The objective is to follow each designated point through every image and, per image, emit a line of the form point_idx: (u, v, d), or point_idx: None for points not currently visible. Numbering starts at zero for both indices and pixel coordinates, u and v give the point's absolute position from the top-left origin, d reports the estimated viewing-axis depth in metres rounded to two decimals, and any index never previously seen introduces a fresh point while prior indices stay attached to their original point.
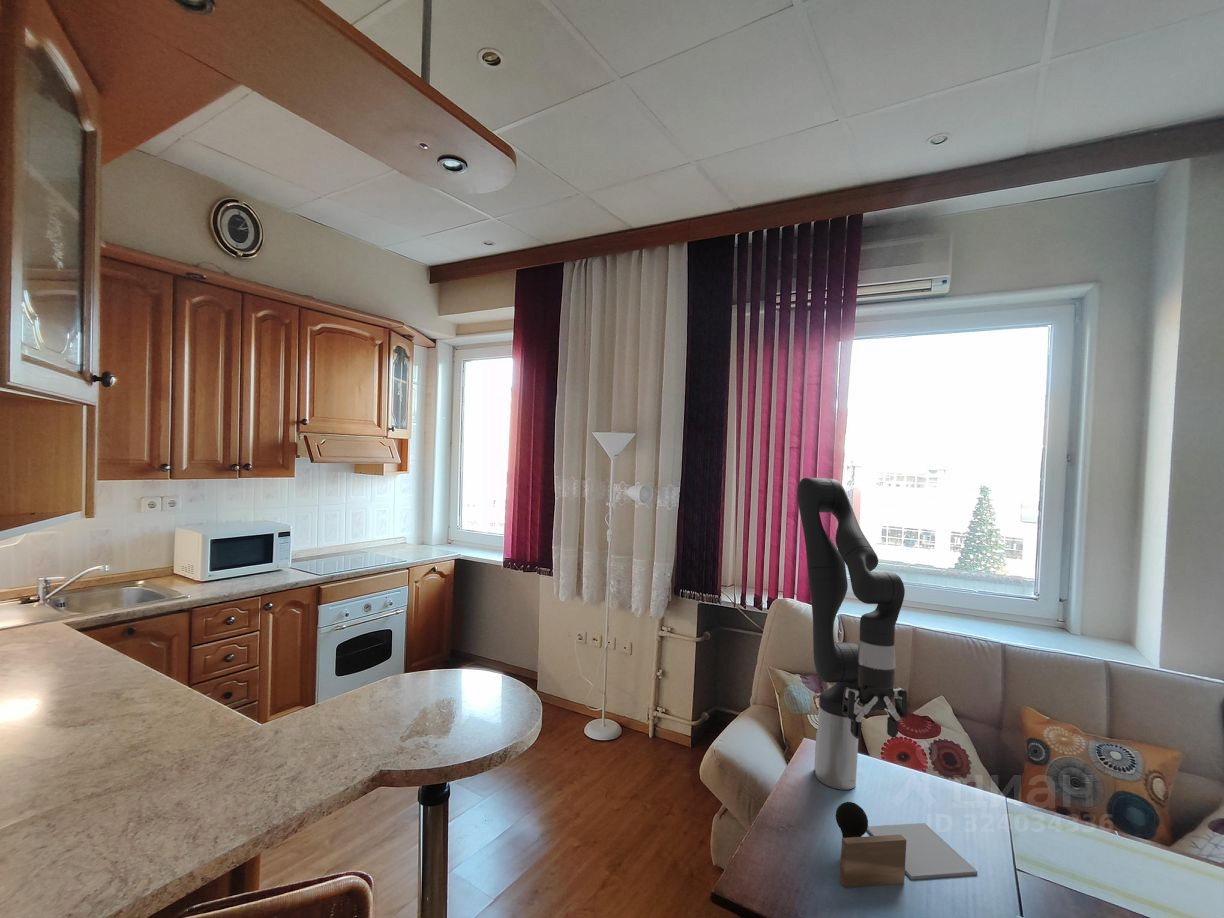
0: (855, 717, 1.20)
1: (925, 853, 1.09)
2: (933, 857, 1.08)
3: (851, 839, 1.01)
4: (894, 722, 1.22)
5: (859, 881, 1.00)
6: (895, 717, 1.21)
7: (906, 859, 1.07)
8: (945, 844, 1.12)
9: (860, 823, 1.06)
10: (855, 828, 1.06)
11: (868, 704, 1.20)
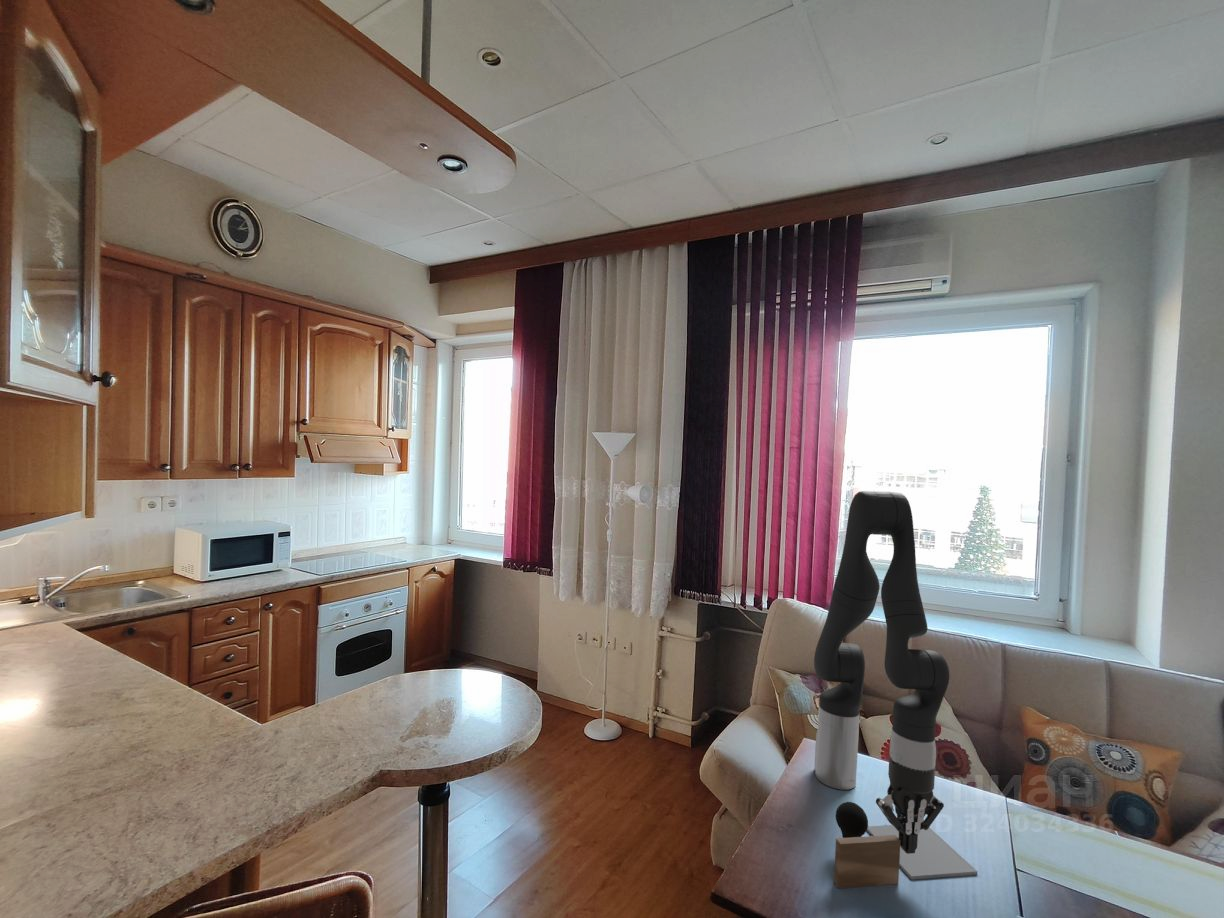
0: (905, 829, 1.02)
1: (925, 853, 1.09)
2: (933, 857, 1.08)
3: (845, 839, 1.01)
4: (913, 835, 1.02)
5: (853, 881, 1.00)
6: (914, 830, 1.02)
7: (906, 859, 1.07)
8: (945, 844, 1.12)
9: (860, 823, 1.06)
10: (855, 828, 1.06)
11: (908, 812, 1.01)
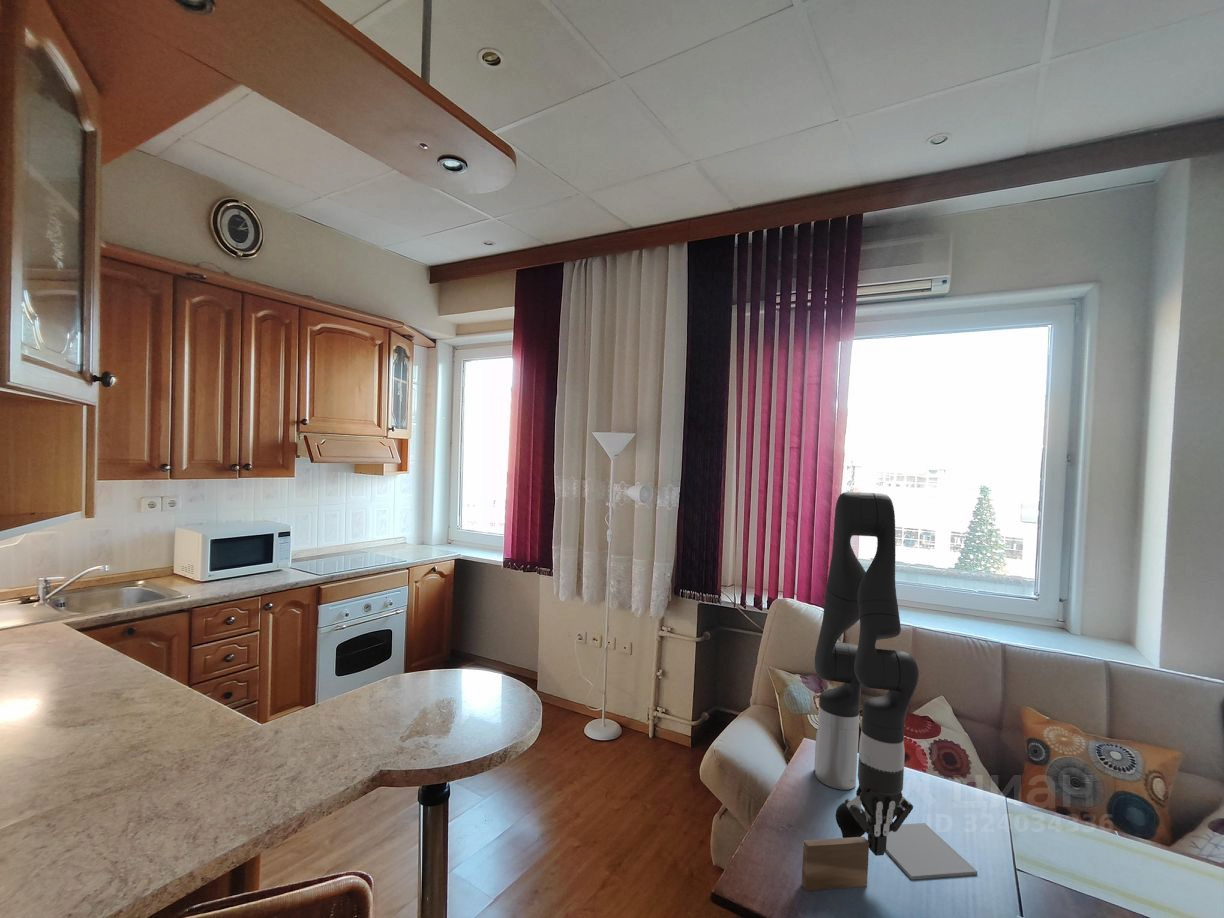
0: (874, 830, 1.01)
1: (925, 853, 1.09)
2: (933, 857, 1.08)
3: (813, 841, 1.00)
4: (882, 837, 1.01)
5: (820, 884, 0.99)
6: (883, 832, 1.01)
7: (906, 859, 1.07)
8: (945, 844, 1.12)
9: None
10: (855, 828, 1.06)
11: (876, 814, 1.00)
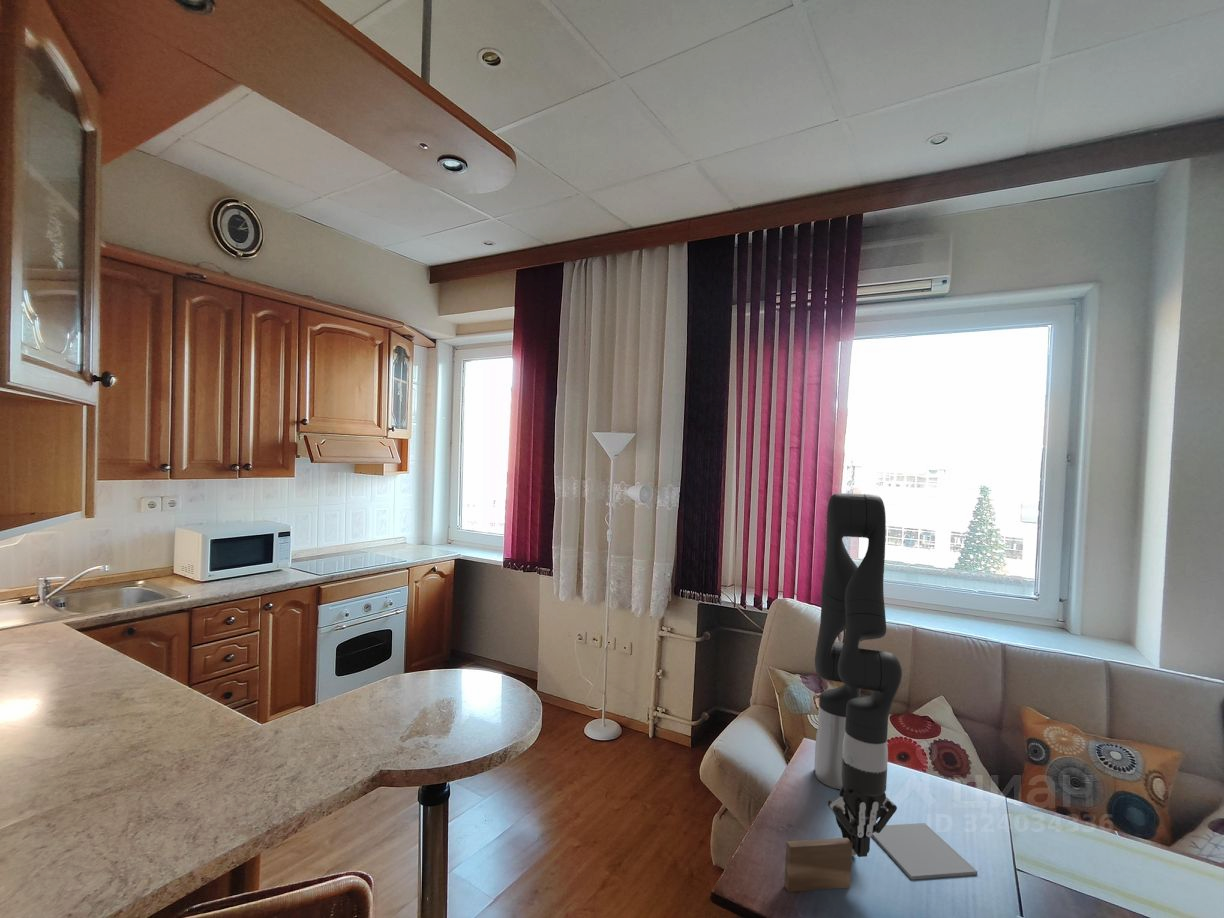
0: (857, 831, 1.00)
1: (925, 853, 1.09)
2: (933, 857, 1.08)
3: (796, 842, 0.99)
4: (865, 838, 1.00)
5: (803, 885, 0.99)
6: (866, 833, 1.00)
7: (906, 859, 1.07)
8: (945, 844, 1.12)
9: None
10: None
11: (859, 815, 0.99)
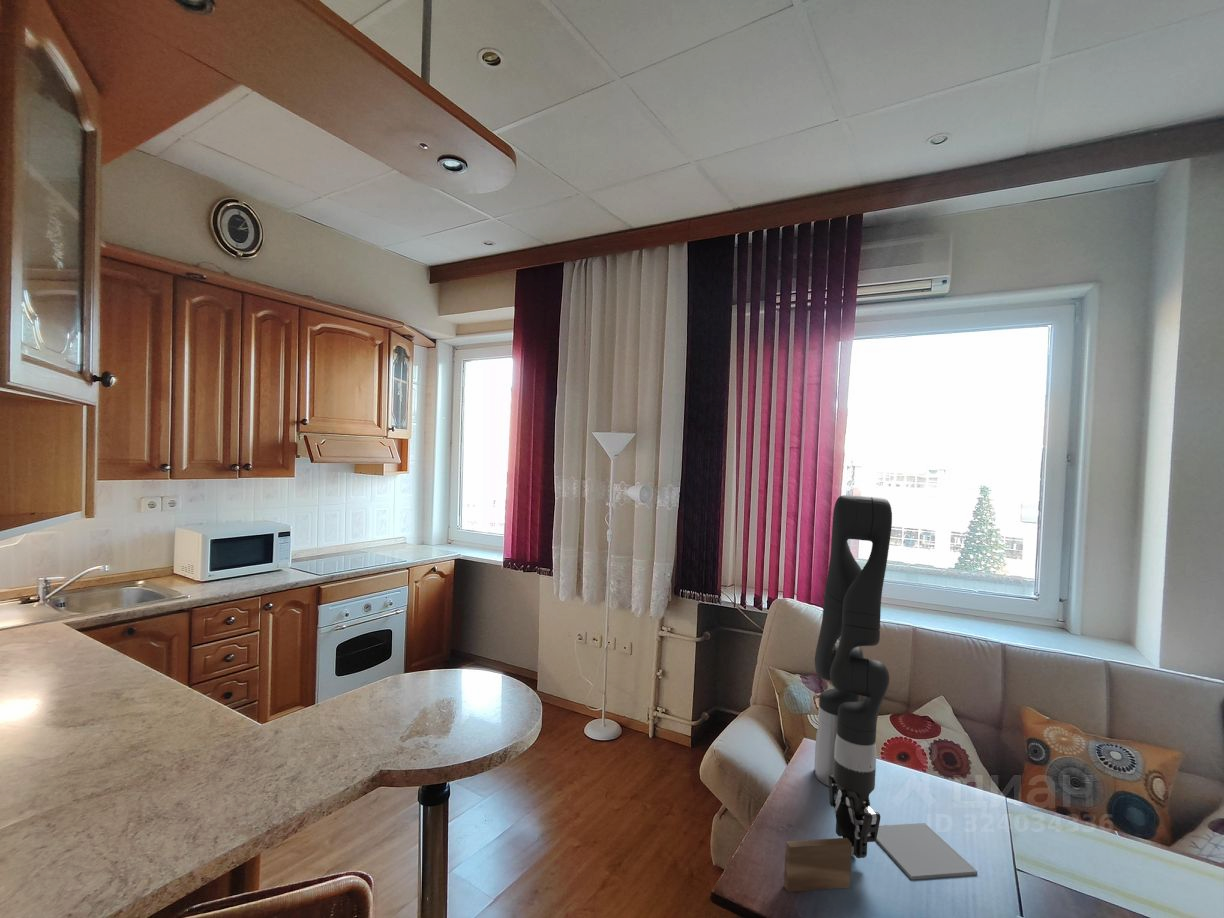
0: None
1: (925, 853, 1.09)
2: (933, 857, 1.08)
3: (795, 842, 0.99)
4: (855, 838, 1.05)
5: (802, 885, 0.99)
6: (855, 832, 1.05)
7: (906, 859, 1.07)
8: (945, 844, 1.12)
9: None
10: None
11: (837, 797, 1.11)
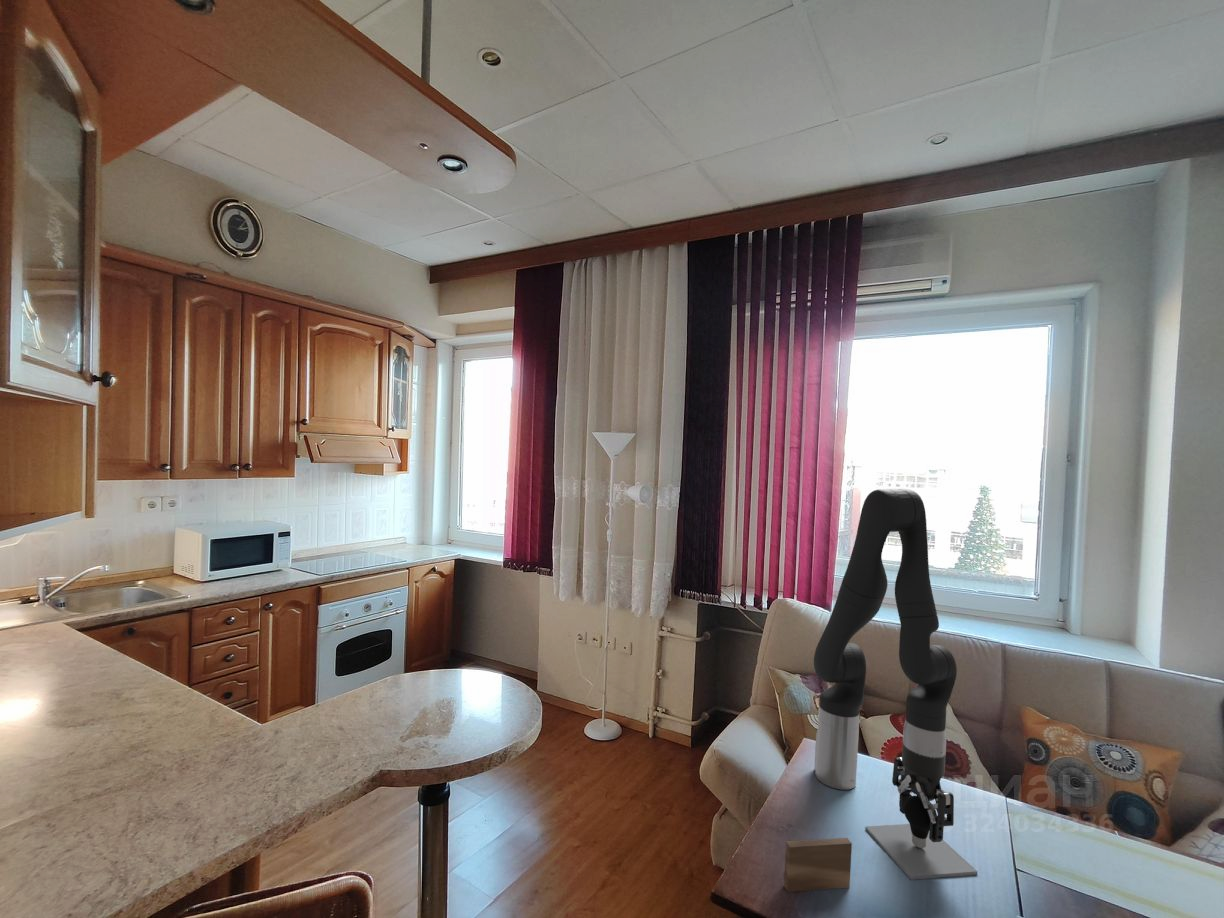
0: None
1: (925, 853, 1.09)
2: (933, 857, 1.08)
3: (795, 842, 0.99)
4: (930, 822, 1.07)
5: (802, 885, 0.99)
6: (930, 817, 1.07)
7: (906, 859, 1.07)
8: (945, 844, 1.12)
9: (929, 816, 1.08)
10: (925, 820, 1.08)
11: (904, 780, 1.13)
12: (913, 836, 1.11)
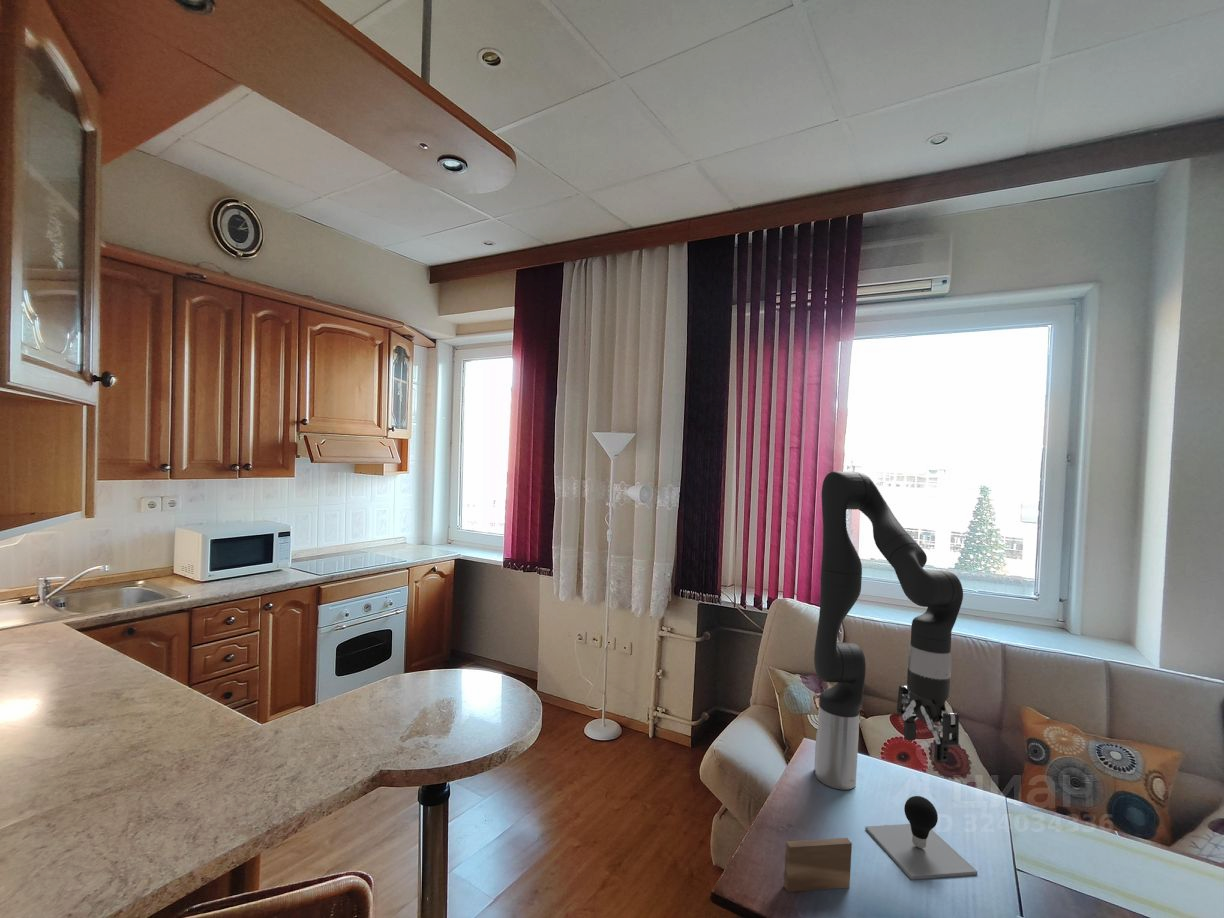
0: None
1: (925, 853, 1.09)
2: (933, 857, 1.08)
3: (795, 842, 0.99)
4: (935, 744, 1.07)
5: (802, 885, 0.99)
6: (935, 738, 1.07)
7: (906, 859, 1.07)
8: (945, 844, 1.12)
9: (930, 817, 1.08)
10: (926, 821, 1.08)
11: (909, 706, 1.13)
12: (913, 836, 1.11)
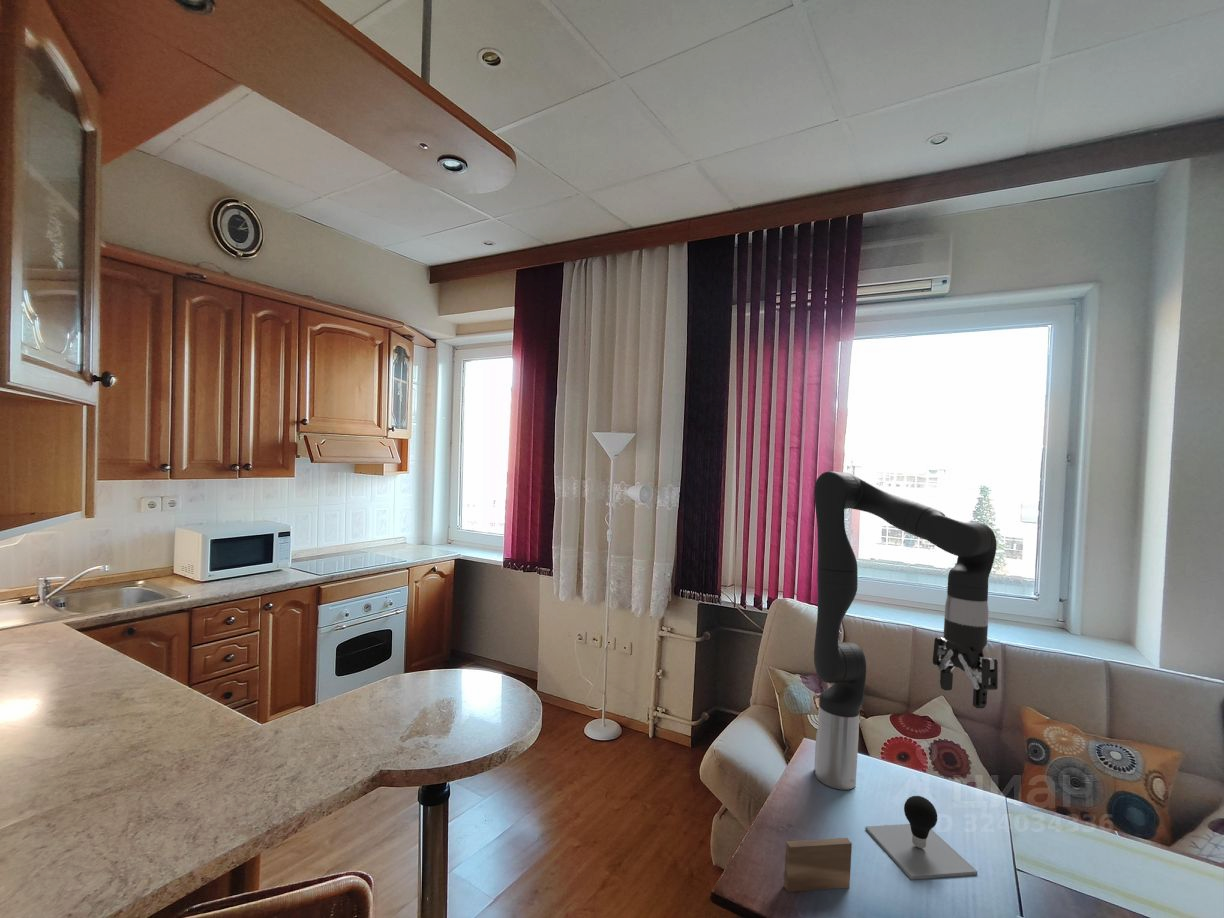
0: None
1: (925, 853, 1.09)
2: (933, 857, 1.08)
3: (795, 842, 0.99)
4: (974, 689, 1.09)
5: (802, 885, 0.99)
6: (974, 684, 1.09)
7: (906, 859, 1.07)
8: (945, 844, 1.12)
9: (930, 816, 1.08)
10: (926, 821, 1.08)
11: (946, 655, 1.16)
12: (913, 836, 1.11)
